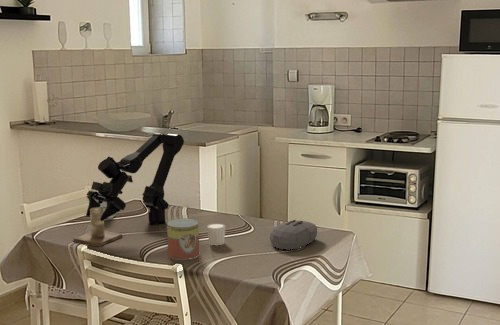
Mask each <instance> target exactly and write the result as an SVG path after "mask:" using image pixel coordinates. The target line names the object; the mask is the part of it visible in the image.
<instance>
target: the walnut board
mask: <svg viewBox="0 0 500 325" xmlns="http://www.w3.org/2000/svg"><path fill="white" fill-rule="evenodd" d="M104 231H105V236H104V237H102V238H92V236H91V231H89V232H87V233H84V234H82V235H79V236H75V237H73V242H74V241H76V242H75V243H79V242H80V243H79V244H84V245H89V244H90V246H94V247H101V246H103V245H107V244H109V243H111V242H114V241H115V240H118V239H121V238H123V233H118V232H111V231H107V230H104Z"/></svg>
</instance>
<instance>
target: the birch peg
mask: <svg viewBox="0 0 500 325" xmlns="http://www.w3.org/2000/svg"><path fill="white" fill-rule="evenodd" d="M103 213H104V212H103V208H102V207H94V208H91V209H90V216H89V217H90V232H91V236H92V238H102V237H104V236H105V231H106V230H105V220H103V221H101V220H100V218H101V216H102V214H103Z"/></svg>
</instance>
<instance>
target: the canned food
mask: <svg viewBox="0 0 500 325" xmlns="http://www.w3.org/2000/svg"><path fill="white" fill-rule="evenodd" d="M199 223H200V222H199V220H197V219H195V218H188V217H185V218H183V217H181V218H174V219H171V220H169V221H166V227H167V229H166V230H167V231H166V232H167V257H168V258H170V259H171V258H172V259H171V260H174V259H176V261H185V260H184V259H189V258H194V257H196V256H198V255H199V256H200V254H199V253H200V236H199V235H200V234H199V233H200V229H199V225H200V224H199ZM199 256H198V257H199ZM196 258H197V257H196ZM194 259H195V258H194Z"/></svg>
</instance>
